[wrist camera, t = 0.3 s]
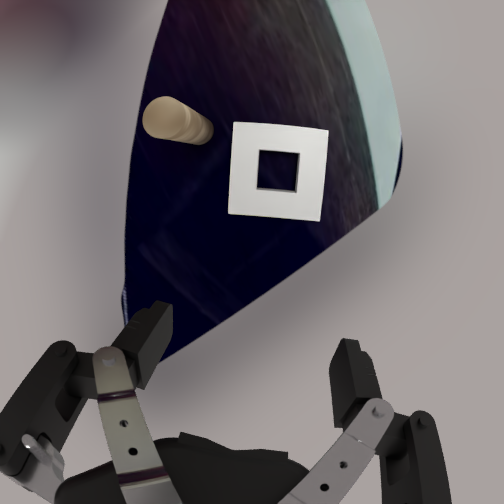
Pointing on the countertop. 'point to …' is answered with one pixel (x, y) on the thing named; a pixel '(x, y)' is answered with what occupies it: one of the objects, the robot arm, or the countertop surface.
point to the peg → (176, 122)
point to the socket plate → (274, 200)
